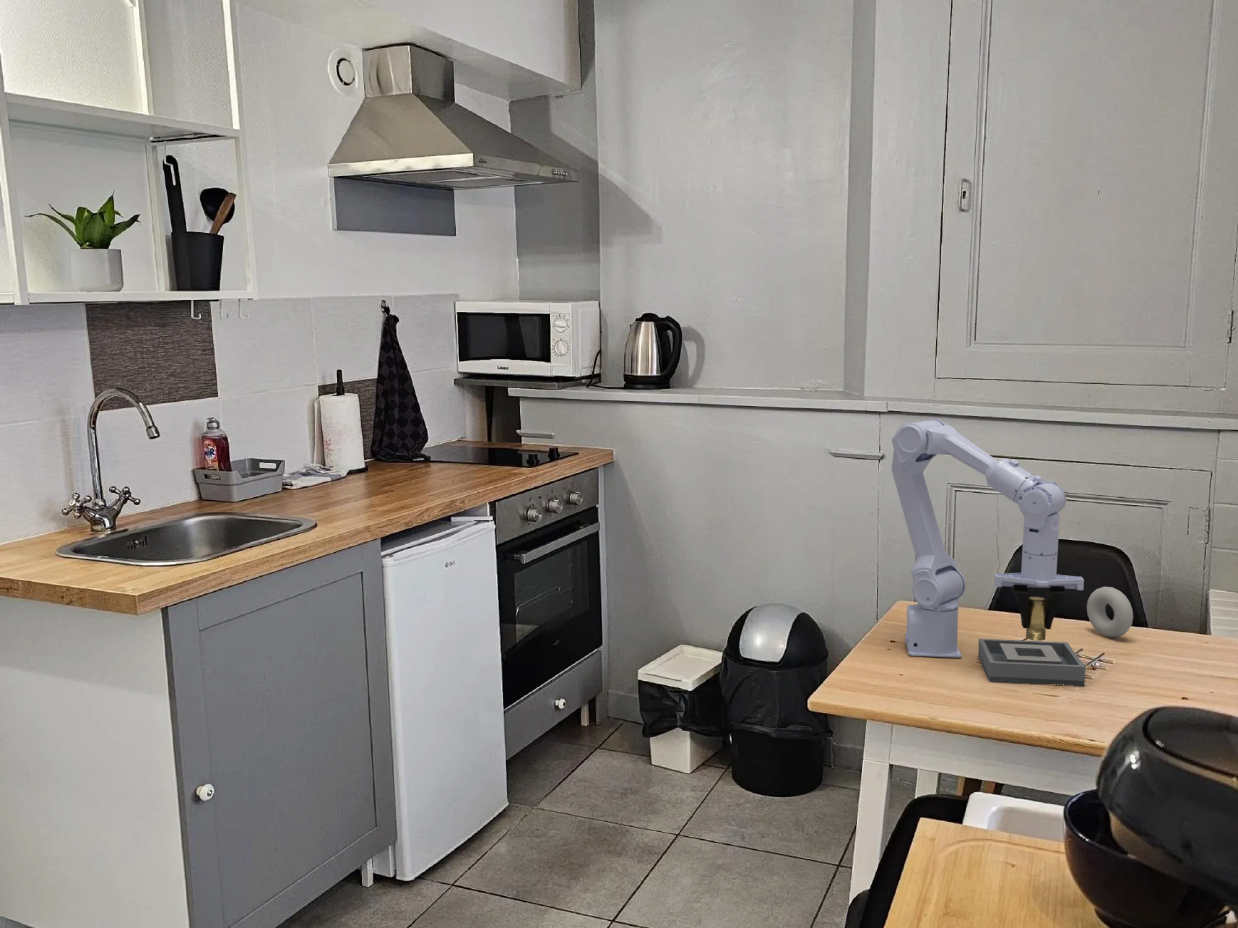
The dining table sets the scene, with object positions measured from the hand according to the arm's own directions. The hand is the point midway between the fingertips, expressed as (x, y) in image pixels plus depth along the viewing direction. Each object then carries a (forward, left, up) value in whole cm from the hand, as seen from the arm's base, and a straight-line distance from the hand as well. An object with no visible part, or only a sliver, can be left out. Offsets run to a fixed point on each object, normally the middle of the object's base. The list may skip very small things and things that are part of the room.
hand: (1036, 627), depth 187 cm
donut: (+19, +25, -9) cm, 32 cm away
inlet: (0, +2, -9) cm, 9 cm away
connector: (0, 0, -2) cm, 2 cm away
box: (0, +2, -9) cm, 9 cm away
